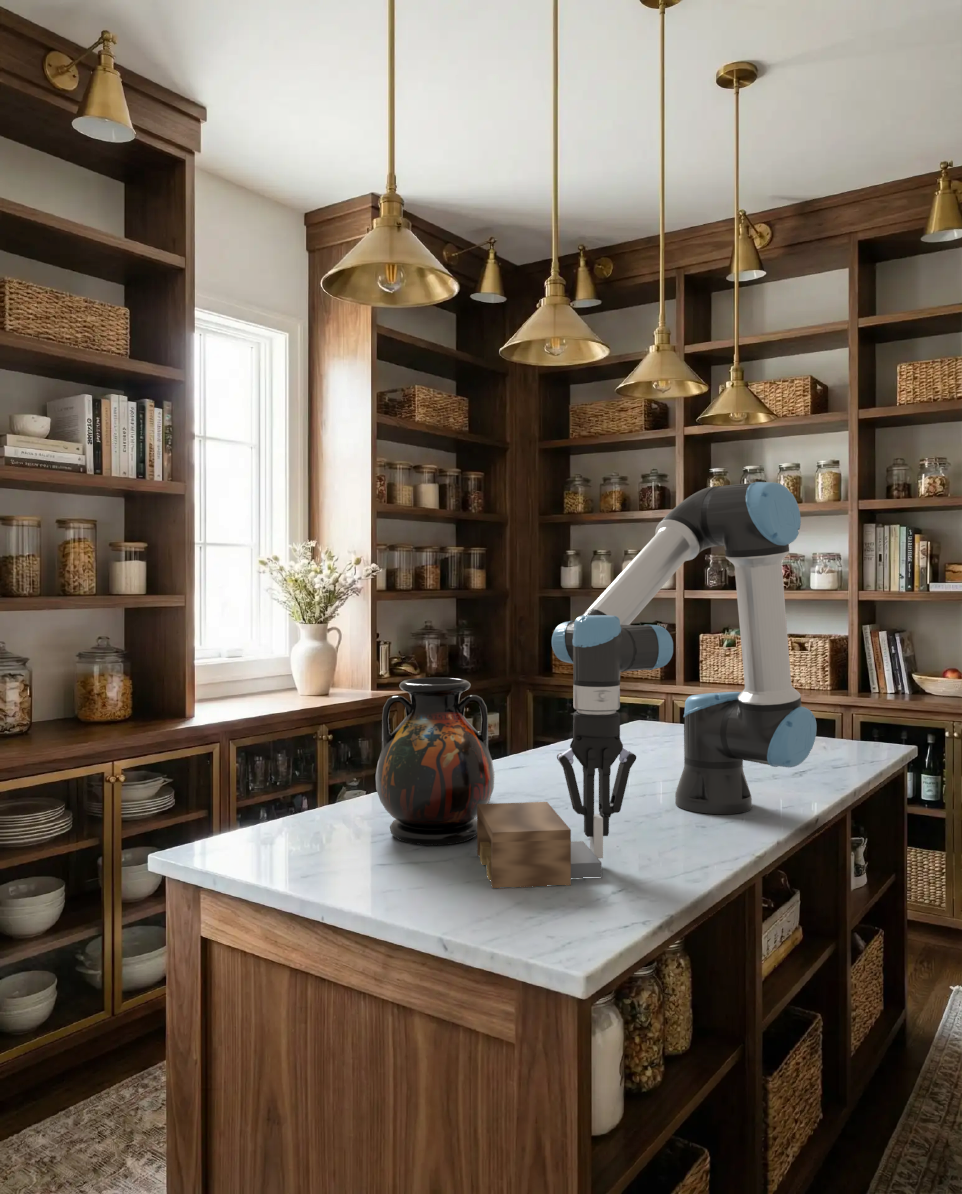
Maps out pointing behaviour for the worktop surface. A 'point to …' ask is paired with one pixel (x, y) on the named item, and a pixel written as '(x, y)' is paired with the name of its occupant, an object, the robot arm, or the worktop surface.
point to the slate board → (584, 861)
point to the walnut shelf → (523, 844)
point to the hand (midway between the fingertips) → (596, 855)
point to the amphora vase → (434, 764)
